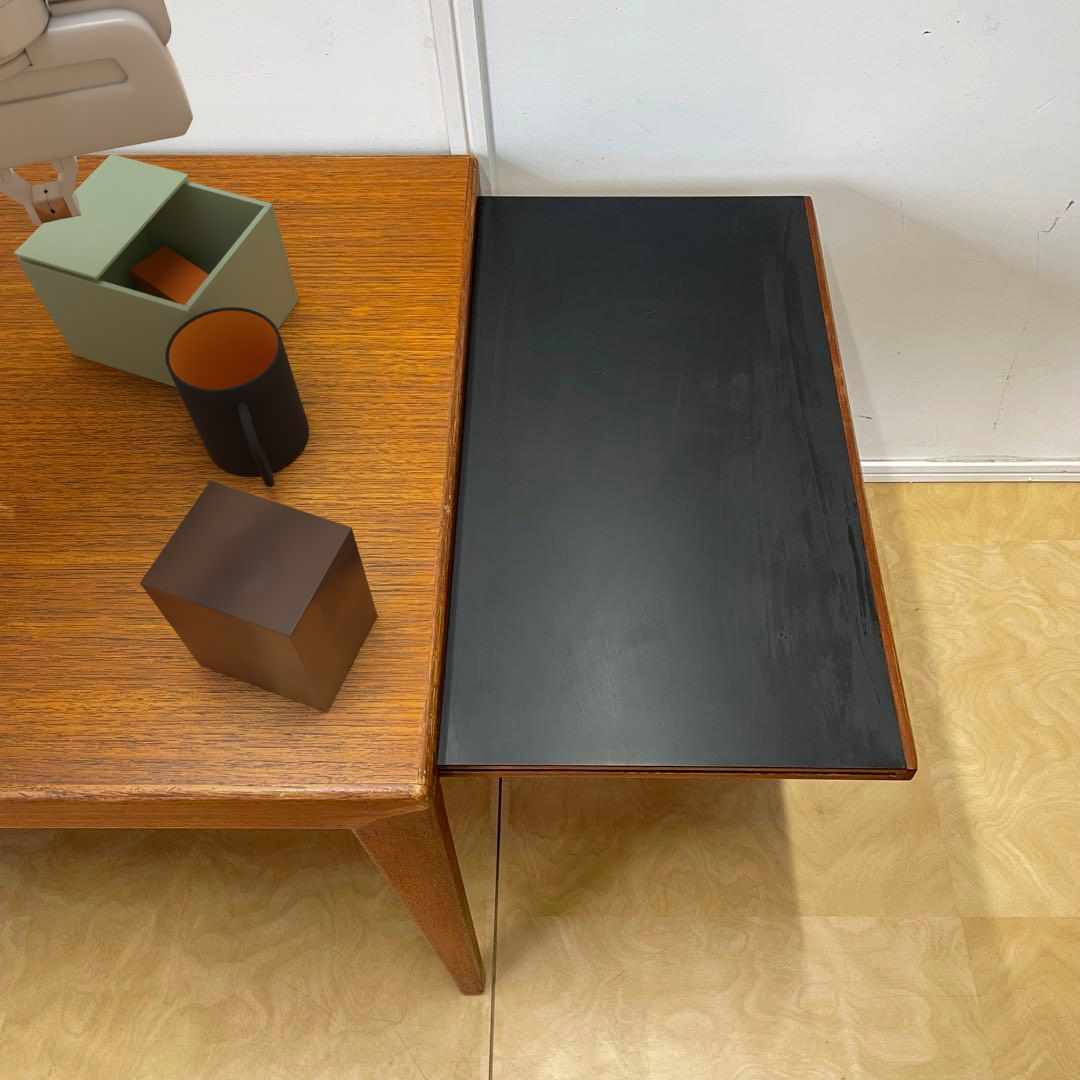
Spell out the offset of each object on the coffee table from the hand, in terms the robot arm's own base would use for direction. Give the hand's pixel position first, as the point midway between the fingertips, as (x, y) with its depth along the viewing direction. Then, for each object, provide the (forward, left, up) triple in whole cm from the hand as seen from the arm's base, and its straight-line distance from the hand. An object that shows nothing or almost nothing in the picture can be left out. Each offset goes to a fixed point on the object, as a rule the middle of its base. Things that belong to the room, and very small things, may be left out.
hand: (57, 214), depth 59 cm
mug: (+10, -1, -20) cm, 22 cm away
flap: (-7, +9, -9) cm, 15 cm away
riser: (+20, -15, -20) cm, 32 cm away
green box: (-3, +9, -20) cm, 22 cm away
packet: (-4, +11, -16) cm, 21 cm away
